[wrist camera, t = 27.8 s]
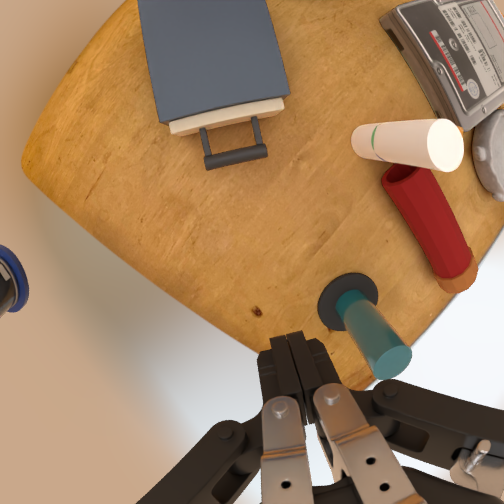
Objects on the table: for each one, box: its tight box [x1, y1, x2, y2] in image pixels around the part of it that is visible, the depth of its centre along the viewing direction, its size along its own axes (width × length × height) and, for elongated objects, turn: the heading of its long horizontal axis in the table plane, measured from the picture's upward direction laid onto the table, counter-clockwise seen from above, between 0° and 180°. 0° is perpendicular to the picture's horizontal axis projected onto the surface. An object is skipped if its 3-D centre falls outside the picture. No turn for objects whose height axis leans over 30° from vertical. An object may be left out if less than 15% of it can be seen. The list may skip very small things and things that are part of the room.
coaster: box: [318, 273, 378, 331], centre depth 39 cm, size 9×9×1 cm
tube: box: [351, 119, 464, 172], centre depth 25 cm, size 4×4×15 cm
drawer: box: [169, 97, 285, 171], centre depth 25 cm, size 18×10×6 cm, turn 12°
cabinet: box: [137, 0, 290, 126], centre depth 24 cm, size 15×12×8 cm
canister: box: [335, 290, 412, 380], centre depth 33 cm, size 5×5×13 cm
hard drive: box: [379, 0, 504, 132], centre depth 25 cm, size 18×27×4 cm
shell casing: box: [381, 163, 478, 293], centre depth 33 cm, size 7×20×7 cm, turn 43°
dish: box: [472, 109, 504, 202], centre depth 31 cm, size 14×14×5 cm
